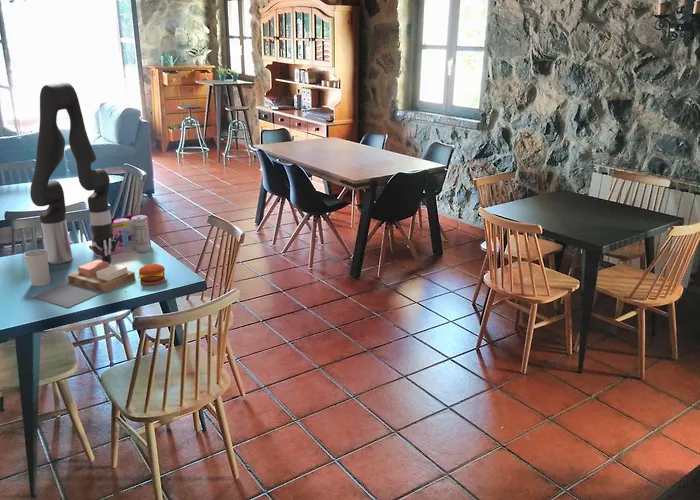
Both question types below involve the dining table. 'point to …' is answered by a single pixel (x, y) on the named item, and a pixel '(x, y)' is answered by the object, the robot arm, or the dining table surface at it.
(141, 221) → the energy drink can
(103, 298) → the dining table surface
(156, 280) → the hamburger
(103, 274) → the cream card box
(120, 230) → the gum box
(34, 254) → the cup
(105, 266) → the terracotta card box
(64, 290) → the slate mat
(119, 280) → the walnut board
